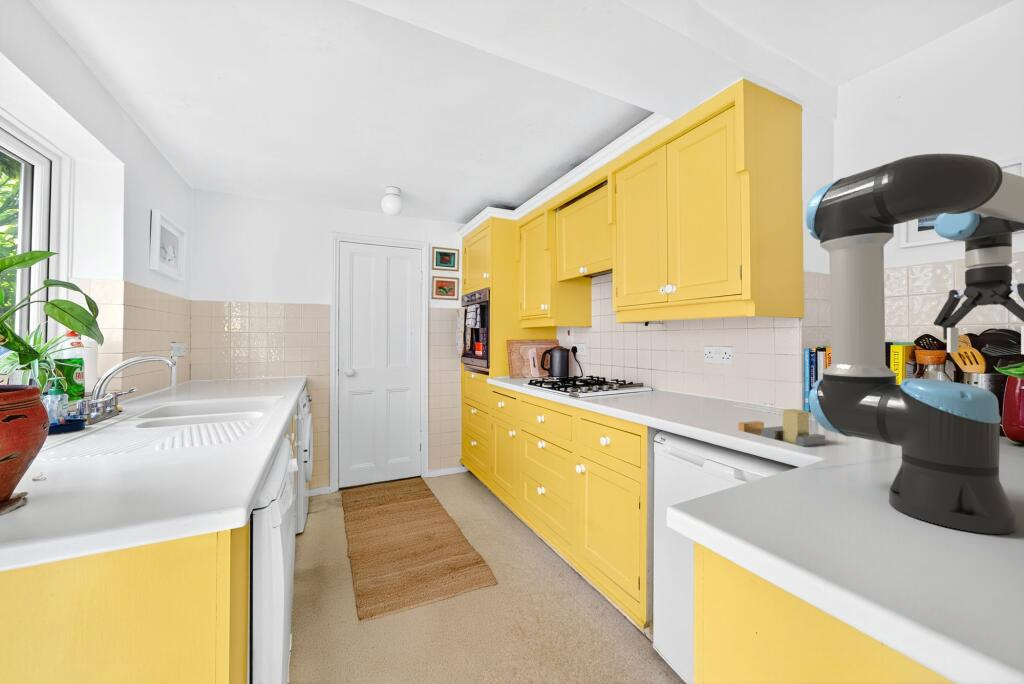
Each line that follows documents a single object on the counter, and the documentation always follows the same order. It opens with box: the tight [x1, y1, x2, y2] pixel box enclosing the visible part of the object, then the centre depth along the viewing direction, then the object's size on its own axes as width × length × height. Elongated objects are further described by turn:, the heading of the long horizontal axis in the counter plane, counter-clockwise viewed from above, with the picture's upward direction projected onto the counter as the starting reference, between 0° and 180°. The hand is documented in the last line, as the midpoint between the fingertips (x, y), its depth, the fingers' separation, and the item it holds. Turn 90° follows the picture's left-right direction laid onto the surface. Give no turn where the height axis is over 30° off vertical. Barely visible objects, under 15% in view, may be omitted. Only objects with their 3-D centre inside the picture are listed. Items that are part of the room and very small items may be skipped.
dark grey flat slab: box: [737, 420, 826, 448], centre depth 125 cm, size 8×22×3 cm, turn 17°
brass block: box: [782, 408, 810, 443], centre depth 120 cm, size 4×4×9 cm
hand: (987, 353), depth 100 cm, fingers open, 13 cm apart
